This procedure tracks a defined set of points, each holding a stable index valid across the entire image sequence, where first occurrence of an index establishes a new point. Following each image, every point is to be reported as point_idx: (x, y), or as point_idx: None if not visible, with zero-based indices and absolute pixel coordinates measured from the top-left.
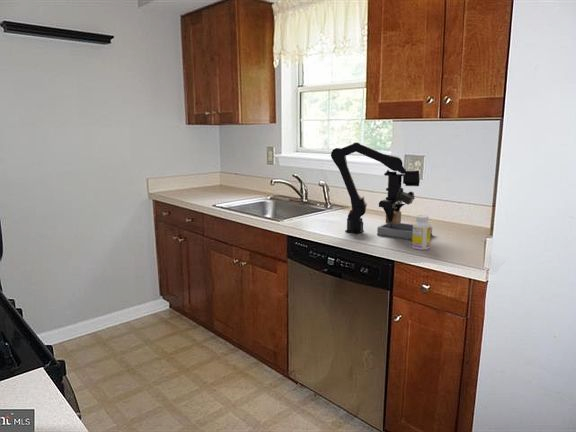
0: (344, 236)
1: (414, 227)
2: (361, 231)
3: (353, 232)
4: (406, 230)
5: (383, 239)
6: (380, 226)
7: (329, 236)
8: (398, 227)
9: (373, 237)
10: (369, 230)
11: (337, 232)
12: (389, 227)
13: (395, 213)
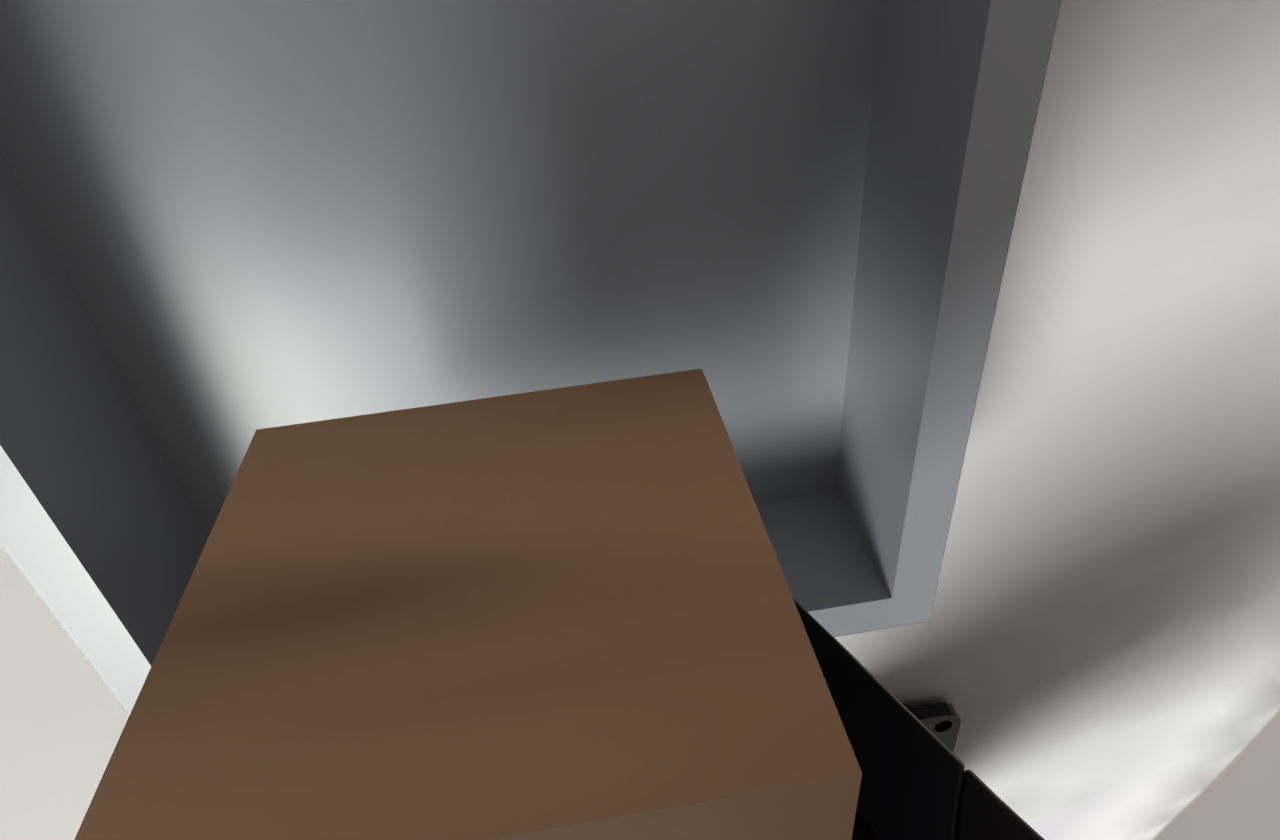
0: (1154, 709)
1: None
2: None
3: (949, 748)
4: (44, 199)
5: (1173, 227)
6: (825, 621)
7: (1206, 785)
8: (132, 461)
9: (1073, 446)
10: None
11: None
12: None
13: (844, 812)
